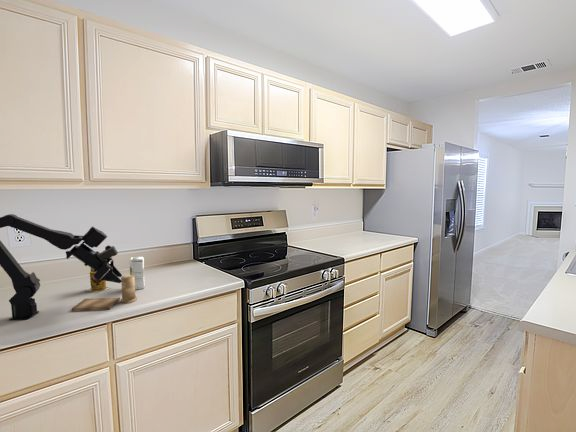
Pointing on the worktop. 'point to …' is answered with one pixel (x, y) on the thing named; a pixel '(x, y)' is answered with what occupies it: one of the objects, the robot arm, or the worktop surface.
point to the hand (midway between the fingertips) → (121, 279)
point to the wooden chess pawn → (128, 289)
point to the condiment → (96, 284)
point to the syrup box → (137, 271)
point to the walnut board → (96, 304)
